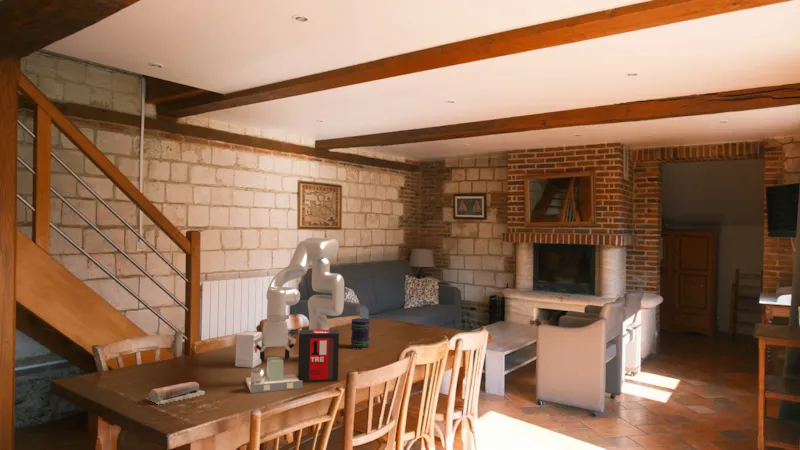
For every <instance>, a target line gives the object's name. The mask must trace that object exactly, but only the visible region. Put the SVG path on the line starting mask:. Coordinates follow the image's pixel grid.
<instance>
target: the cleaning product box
mask: <svg viewBox="0 0 800 450" xmlns="http://www.w3.org/2000/svg"><path fill="white" fill-rule="evenodd" d="M339 341H340V334H339V330H338V329H329V330H309V329H299V333H298V359H297V360H298V361H297V362H298V366H297V367H298V368H297V370H298V371H297V378H298V379H299V381H303V383H313V382H315V383H317V382H338V381H339V351H340V350H339V345H340V342H339Z"/></svg>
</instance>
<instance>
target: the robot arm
mask: <svg viewBox="0 0 800 450" xmlns="http://www.w3.org/2000/svg"><path fill="white" fill-rule="evenodd" d="M338 252H339V242H338V240H337V239H335V238H332V237H308V238H305V239H304V240H302V241H299V243H297V245H296V248H295V251H294V253H293V255H292V257H291V259H290V262H289V263H288V265H287V266H286V267H284V268H283V269H281V270H280V271H279V272H278V273H276V275H274V276H273V278H272V279H271V281H270V283H269V286H268V288H267V291H266V300H267V302H266V303H267V304H266V321H264V323H263V327H262V337H260V338H258V339H256V340H254V344H255V346H256V347H257V349H258V350H259V351H260V359H261V363H264V362H265V350H266V348H276V347H277V348H278V347H284V348H285V350H284V360H285V361H288V360H289V358H290V351H291V349H292V348H293V347H294V346H295V344H296V342H297V339H296V338H294V337H292V336H290V335H289V329H288V322H287V321H286V320H289V319H290V316H289V315H287V314H286V310H287V309H286V308H287V306H294V305H296V304H298V303H299V301H300V299H301V292H300V291H299V290H298V288H296V287H290V286H289V287H287V286H284V285H285V284H287V283H288V282H290V281H292V280H296V279H298V278H300V277H303V276H305V275H306V274H307V272H308V270H309V267H310V264H311V266H312V268H311V289H312V290H313V291H314V292H317V293H329V294H331V295H327V294H313V295H311V296H310V297H309V298H308V300H307V309H308V316H309V318H308V320H309V324H308V326H309V328H308V330H330V323H329V319H328V317H327V316H332V317H334V316H335V317H338V316H340V315H342V313H344V312H343V311H344V307H345V279H344V277H343V276H342V274H340V273H334V272H331V271H330V270H331V269H330V268H331V266H330V265H331V264H330V263H331V262H330V260H329V259H330V258H332V257H334V256H336V255H337V254H338ZM289 340H290V341H291V342H290V344H289ZM260 341H262V346H261V347H260V346H259V345H258V342H260ZM288 344H289V345H288Z"/></svg>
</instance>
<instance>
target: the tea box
mask: <svg viewBox="0 0 800 450" xmlns="http://www.w3.org/2000/svg"><path fill="white" fill-rule="evenodd" d="M283 375H284V359H283V358H282V357H281V356H274V357H273V356H272V357H267V358H266V376H267V378H268V380H269V381H280V380H283Z"/></svg>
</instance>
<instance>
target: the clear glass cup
mask: <svg viewBox="0 0 800 450" xmlns="http://www.w3.org/2000/svg"><path fill="white" fill-rule="evenodd" d="M265 373H266V368H264V367H253V368H250V378H251V385H256V384H264V378H265V375H266V374H265Z"/></svg>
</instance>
